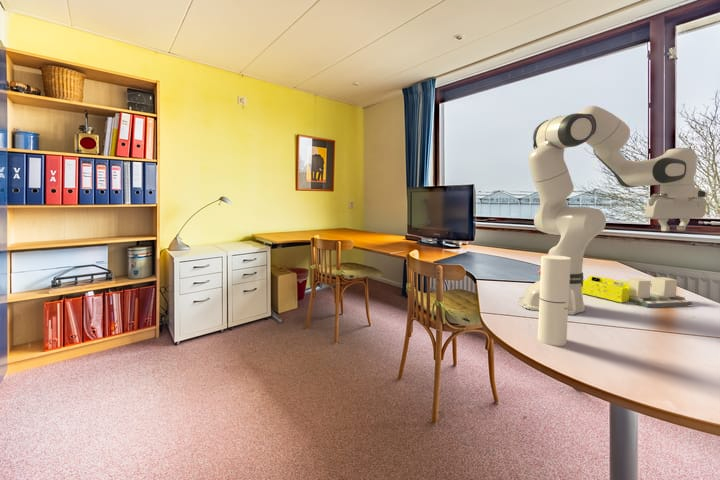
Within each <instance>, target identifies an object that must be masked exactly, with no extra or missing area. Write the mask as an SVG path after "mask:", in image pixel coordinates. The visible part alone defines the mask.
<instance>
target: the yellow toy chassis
mask: <svg viewBox="0 0 720 480" xmlns="http://www.w3.org/2000/svg"><path fill="white" fill-rule="evenodd" d="M629 292H630V286H629V285H628V284H627V281H625V280H624V281H623V280H619V279H612V278H608V277H602V276H596V275H590V276H588V277H586V279H583V287H582V294H585V295H587V296H591V297H595V298H600V299H601V298H602V299H603V300H605V299H606V300H610V301H612V302H614V303H615V302H616V303H625V302H628V301H629Z"/></svg>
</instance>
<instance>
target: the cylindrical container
mask: <svg viewBox="0 0 720 480" xmlns="http://www.w3.org/2000/svg"><path fill="white" fill-rule="evenodd" d="M540 256H541V257H540V269H541V275H540V274H539V275H540V277H539V280H540V299H539V311H538V324H537V325H538V328H537V340H539V341H540V342H542V343H543V344H546V345H550V346H555V347H556V346H557V347H563V346H566V345H567V341H568V340H567V338H568V337H567V335H568V322H569V321H568V319H569V318H568V317H569V314H568V303H569V283H570V264H571V258H570V257H565V256H556V255H548V254H547V255H546V254H544V255H540Z"/></svg>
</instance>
